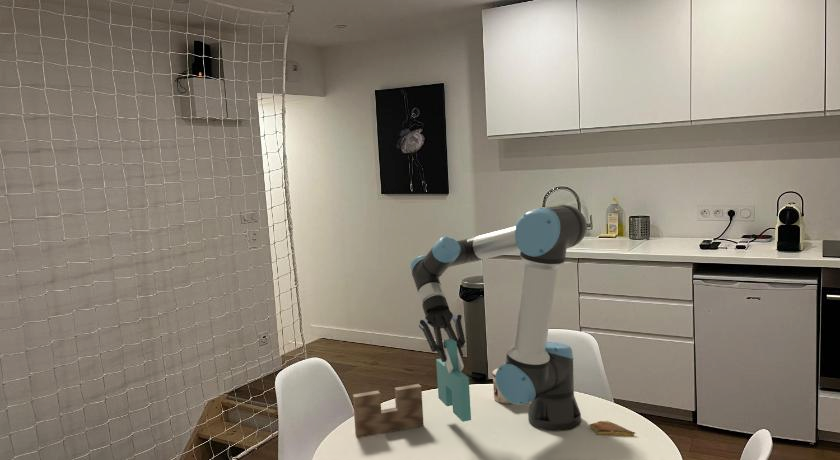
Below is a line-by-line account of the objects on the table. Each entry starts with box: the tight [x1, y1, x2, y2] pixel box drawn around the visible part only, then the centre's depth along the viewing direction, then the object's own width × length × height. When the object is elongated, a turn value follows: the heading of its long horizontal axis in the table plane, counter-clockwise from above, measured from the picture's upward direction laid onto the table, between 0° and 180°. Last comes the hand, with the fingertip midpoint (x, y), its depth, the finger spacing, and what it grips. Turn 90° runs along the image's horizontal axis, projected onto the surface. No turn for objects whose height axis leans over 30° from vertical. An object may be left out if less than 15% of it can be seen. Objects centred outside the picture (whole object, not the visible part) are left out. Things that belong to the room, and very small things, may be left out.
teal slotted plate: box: [435, 338, 472, 423], centre depth 180 cm, size 20×2×20 cm, turn 18°
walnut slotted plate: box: [352, 383, 424, 439], centre depth 183 cm, size 20×2×12 cm, turn 108°
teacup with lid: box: [492, 363, 512, 404], centre depth 201 cm, size 12×9×12 cm
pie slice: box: [588, 420, 636, 437], centre depth 173 cm, size 11×8×2 cm
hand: (456, 369), depth 176 cm, fingers closed on teal slotted plate, 2 cm apart
